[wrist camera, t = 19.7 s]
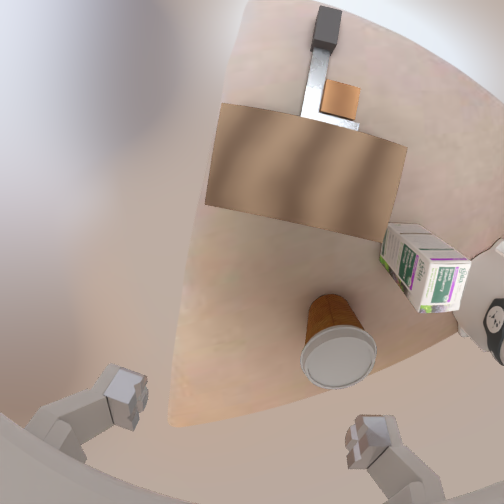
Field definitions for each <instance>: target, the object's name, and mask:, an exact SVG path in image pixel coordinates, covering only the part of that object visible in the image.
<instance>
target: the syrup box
mask: <svg viewBox="0 0 504 504" xmlns="http://www.w3.org/2000/svg"><path fill="white" fill-rule="evenodd" d="M380 262H381V263H382V264H383V266H384V267H385V268H386V270H387V271H388V272H389V273H390V275H391V276H392V277H393V279H394V280H395V282H396V283H397V284H398V286H399V287H400V288H401V290H402V291H403V292H404V294H405V295H406V297H407V298H408V299H409V301H410V302H411V304H412V305H413V306H414V308H415V309H416V311H417V312H418V313H440V312H448V311H455V310H459V307H460V302H461V299H462V296H463V293H464V290H465V287H466V283H467V279H468V275H469V271H470V267H471V263H472V262H471V261H470V260H469V259H468V258H466V257H465V256H464V255H462V254H461V253H460V252H458V251H457V250H456V249H454V248H453V247H451V246H450V245H449V244H447V243H446V242H444V241H443V240H441V239H440V238H439V237H437V236H436V235H434V234H433V233H431V232H430V231H428V230H427V229H425V228H424V227H422V226H421V225H419V224H405V223H388V226H387V229H386V233H385V236H384V239H383V242H382V246H381V253H380Z"/></svg>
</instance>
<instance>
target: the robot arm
mask: <svg viewBox="0 0 504 504" xmlns="http://www.w3.org/2000/svg"><path fill="white" fill-rule="evenodd" d="M471 262H472V263H471V267H470V271H469V275H468V279H467V283H466V287H465V290H464V293H463V296H462V299H461V302H460V307H459V310H455V311H453V314H454V317H455V318H456V320H457V322H458V333H459V335H460V336H461V337H470V338H471V339H472V340H473V342H474V343H475V344H476V345H477V346H478V347H479V348H480V349H481V350H482V351H483V352H486V351H490V352H491V353H492V355H493V357H494V358H495V360H497V361H498V362H499V363H500V364H501V365H503V366H504V239H503V238H501V239H499V240H498V241H497V242H496V243H495V244H494V245H493V246H492V247H491V248H490V249H489V250H487V251H485V252H483V253H481V254H479V255H478V256H477V257H475V258H474V259H473V260H472V261H471ZM147 382H148V381H147V376H145V375H142V374H140V373H137V372H134V371H131V370H128V369H126V368H124V367H120V366H118V365H115V364H113V363H110V364H109V365H107V367H106V368H105V370H104V371H103V372H102V374H101V375H100V377H99V378H98V380H97V381H96V382H95V384H94V386H93V387H92V388H91V390H89V389H85V390H83V391H80V392H78V393H75V394H73V395H70V396H68V397H65V398H63V399H60V400H57V401H55V402H52V403H50V404H47V405H44V406H42V407H40V408H39V409H38V411H37V412H36V413H35V415H34V416H33V417H32V419H31V420H30V421H29V423H28V424H27V425H26V427H25V428H22V427H21V426H19V425H18V424H16V423H15V422H13V421H12V420H11V419H9V418H8V417H6V416H5V415H4V414H3V413H1V412H0V504H197V503H193V502H189V501H185V500H181V499H177V498H173V497H170V496H167V495H163V494H160V493H157V492H154V491H151V490H148V489H145V488H142V487H139V486H136V485H133V484H131V483H128V482H126V481H123V480H120V479H118V478H116V477H113V476H111V475H108V474H106V473H104V472H101V471H99V470H97V469H95V468H93V467H91V466H88V465H86V464H85V461H86V460H87V457H86V455H85V453H84V451H83V449H82V447H81V445H82V444H84V443H85V442H87V441H89V440H90V439H92V438H94V437H96V436H97V435H99V434H100V433H102V432H104V431H105V430H107V429H109V428H110V427H112V426H113V424H114V425H117V426H120V427H122V428H125V429H128V430H131V431H134V430H135V427H136V425H137V423H138V421H139V413H140V412H142V411H144V408H145V406H146V403H147V400H148V389H147V387H146V384H147ZM345 447H346V448H347V449H348V450H349V453H348V455H347V464H348V469H367V471H368V473H369V474H370V475H371V477H372V478H373V479H374V481H375V482H376V484H377V485H378V486H379V488H380V489H381V490H382V492H383V493H384V494H385V495H386V497H387V498H388V501H386V502H385V503H383V504H504V481H500V482H497V483H495V484H493V485H490V486H487V487H485V488H482V489H479V490H476V491H474V492H470V493H467V494H465V495H461V496H458V497H455V498H452V499H448V500H445V496H444V492H443V488H442V484H441V481H440V477H439V476H438V475H437V474H436V473H435V472H434V471H433V470H432V469H430V468H429V467H428V466H427V465H426V464H425V463H424V462H423V461H422V460H421V459H420V458H419V457H418V456H417V455H415V454H414V453H413V452H412V451H411V450H410V449H409V448H408V447H407V446H403V443H402V440H401V436H400V432H399V429H398V426H397V422H396V419H395V417H394V416H393V415H359V416H357V417H356V419H355V424H354V425H352V426H350V427H349V429H348V431H347V433H346V437H345Z"/></svg>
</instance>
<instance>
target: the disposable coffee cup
mask: <svg viewBox="0 0 504 504" xmlns="http://www.w3.org/2000/svg"><path fill="white" fill-rule="evenodd" d="M376 354H377V347H376V343H375V341H374V339H373V338H372V336H371V335H369V334H368V333H367V332H366V331H365V330H364V328H363V327H362V325H361V323H360V322H359V320H358V319H357V317H356V315H355V314H354V312H353V311H352V309H351V307H350V306H349V304H348V302H347V301H346V300H345V299H344V298H343V297H341V296H338V295H334V294H328V295H324V296H321V297H319V298H318V299H316V300H315V301H314V302H313V303H312V305H311V307H310V309H309V315H308V324H307V333H306V340H305V347H304V349H303V350H302V353H301V358H300V365H301V368H302V370H303V372H304V374H305V375H306V376H307V378H308V379H309V380H310V381H311V382H312V383H313V384H315V385H316V386H318V387H321V388H325V389H342V388H347V387H350V386H352V385H355V384H357V383H358V382H360V381H362V380H363V379H364V378H365V377H366V376H367V375H368V374H369V373H370V372H371V370H372V368H373V366H374V363H375V358H376Z"/></svg>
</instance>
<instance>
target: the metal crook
mask: <svg viewBox="0 0 504 504" xmlns="http://www.w3.org/2000/svg"><path fill="white" fill-rule="evenodd" d="M341 15H342V11H341V10H337V9H333V8H329V7H325V6H320V7H319V11H318V15H317V19H316V23H315V29H314V34H313V40H312V45H311V50H310V51H312V52H313V53H312V58H311V63H310V69H309V74H308V79H307V84H306V89H305V94H304V100H303V105H302V110H301V115H300V117H305V118H309V119H314V120H318V121H322V122H326V123H330V124H334V125H338V126H341V127H345V128H349V129H352V130H356V131H358V129H359V123H356V122H353V121H349V120H346V119H342V118H338V117H335V116H331V115H327V114H323V113H319V109H320V104H321V99H322V94H323V88H324V83H325V78H326V72H327V67H328V61H329V56H331V54H332V52H333V50H334V48H335V47H336V45H337V40H338V34H339V27H340V21H341Z"/></svg>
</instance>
